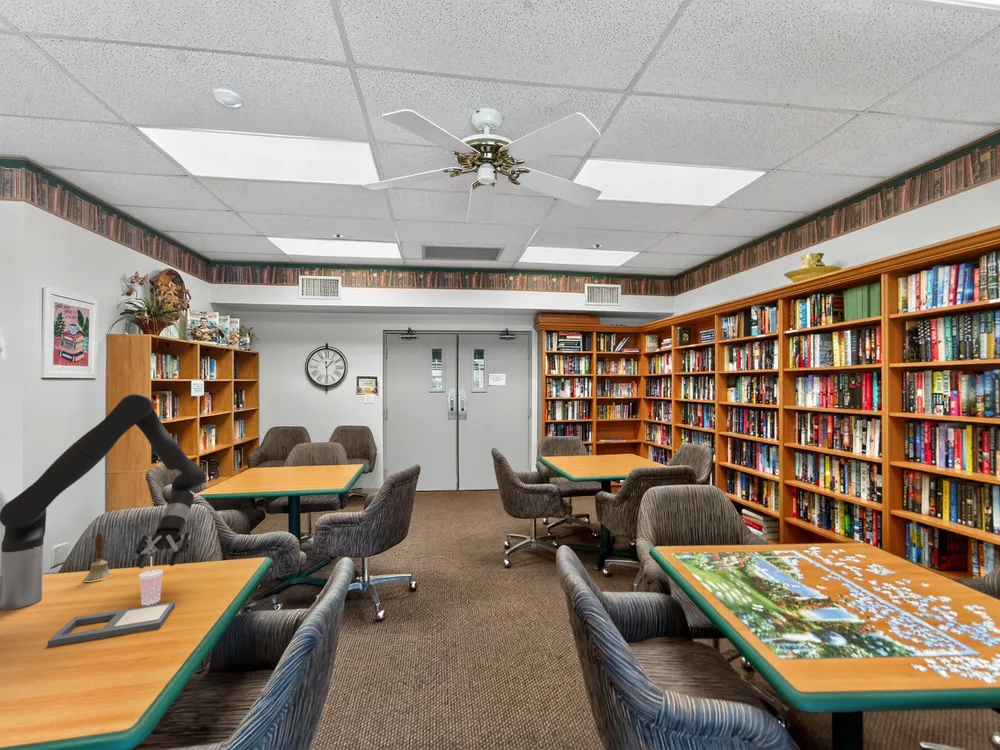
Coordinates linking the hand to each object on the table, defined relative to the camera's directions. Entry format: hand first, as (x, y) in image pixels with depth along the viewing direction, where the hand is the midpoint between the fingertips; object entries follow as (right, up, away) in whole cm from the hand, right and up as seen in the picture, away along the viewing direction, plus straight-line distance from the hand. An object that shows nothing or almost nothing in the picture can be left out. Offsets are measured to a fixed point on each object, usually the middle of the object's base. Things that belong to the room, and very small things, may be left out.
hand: (155, 566), depth 147 cm
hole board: (+2, -9, -17) cm, 20 cm away
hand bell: (-34, -12, +18) cm, 40 cm away
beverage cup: (+1, -10, -3) cm, 11 cm away
